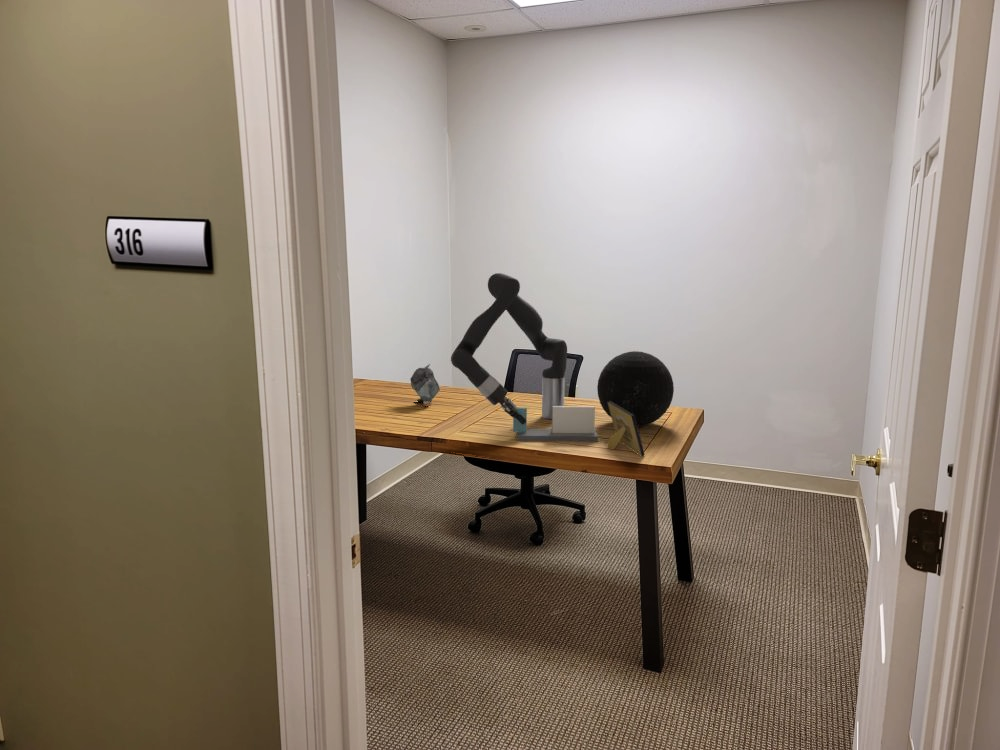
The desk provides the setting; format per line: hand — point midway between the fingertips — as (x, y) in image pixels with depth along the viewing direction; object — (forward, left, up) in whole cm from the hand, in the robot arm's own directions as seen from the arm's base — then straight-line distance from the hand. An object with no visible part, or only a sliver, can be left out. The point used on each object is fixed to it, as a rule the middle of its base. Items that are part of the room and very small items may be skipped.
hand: (524, 422), depth 263 cm
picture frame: (+13, +34, -6) cm, 37 cm away
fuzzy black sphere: (-20, +44, -6) cm, 49 cm away
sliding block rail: (0, +12, -6) cm, 13 cm away
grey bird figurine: (-54, -45, -6) cm, 70 cm away
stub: (0, -2, -4) cm, 4 cm away
